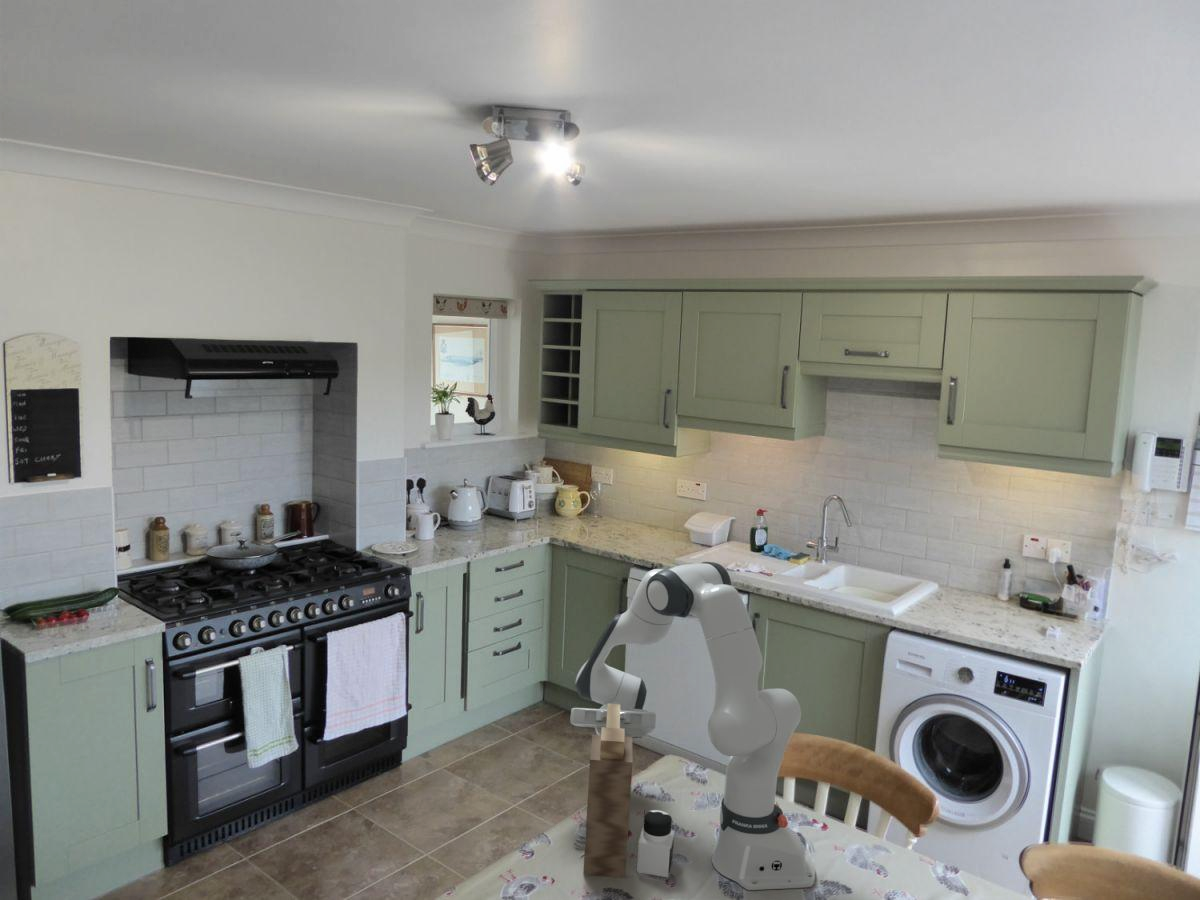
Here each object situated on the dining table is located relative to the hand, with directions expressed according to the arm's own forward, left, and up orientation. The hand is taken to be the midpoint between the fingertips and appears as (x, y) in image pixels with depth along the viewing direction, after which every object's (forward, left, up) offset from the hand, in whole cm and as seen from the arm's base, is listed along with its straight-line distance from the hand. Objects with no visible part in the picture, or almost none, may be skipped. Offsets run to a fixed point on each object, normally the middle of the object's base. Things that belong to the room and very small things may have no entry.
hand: (613, 715), depth 200 cm
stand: (0, +11, -29) cm, 31 cm away
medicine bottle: (-11, +12, -29) cm, 33 cm away
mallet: (0, +7, -2) cm, 8 cm away
